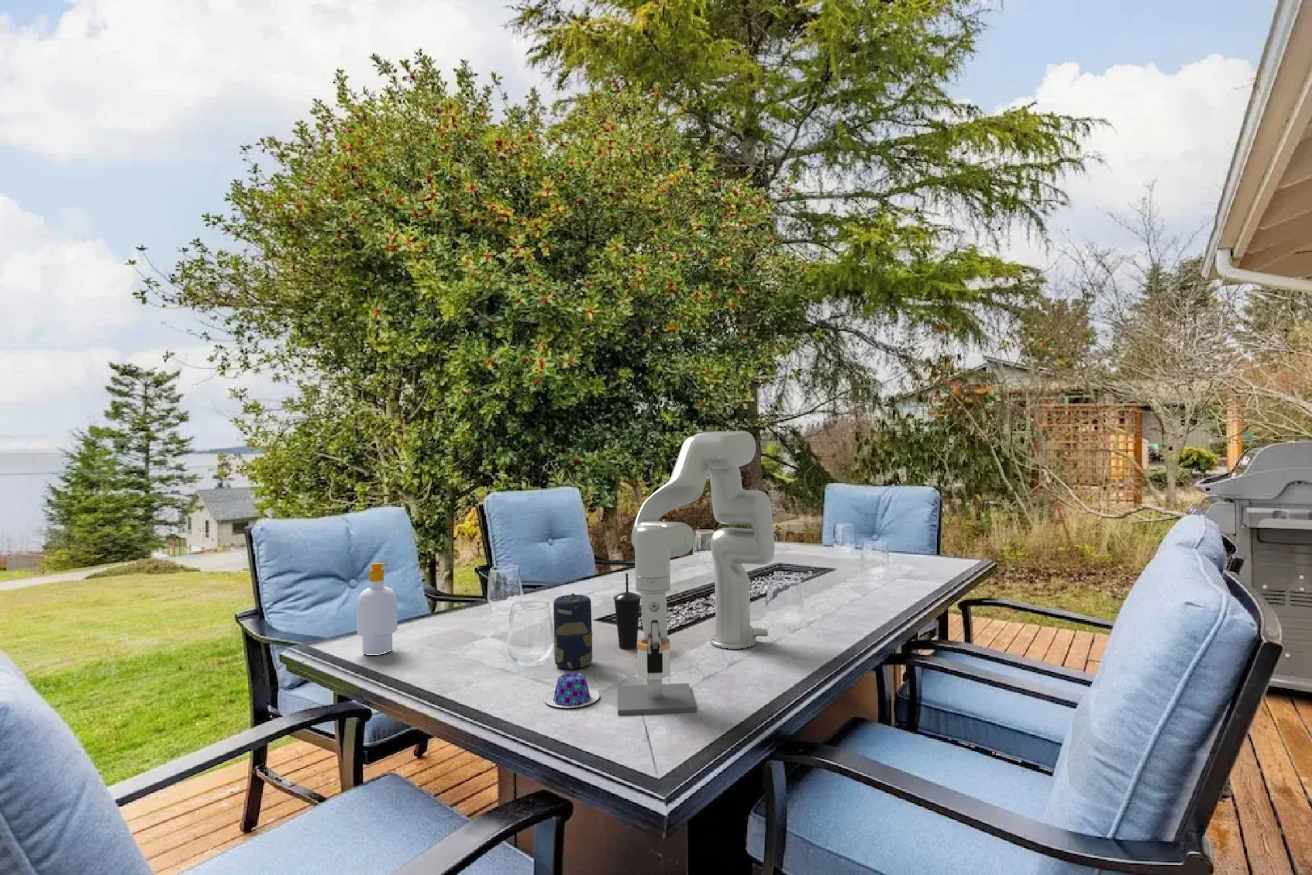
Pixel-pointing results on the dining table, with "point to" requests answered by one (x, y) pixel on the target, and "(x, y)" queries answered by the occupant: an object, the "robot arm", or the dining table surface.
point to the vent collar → (642, 659)
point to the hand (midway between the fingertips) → (653, 666)
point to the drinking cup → (627, 617)
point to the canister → (572, 631)
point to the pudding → (571, 692)
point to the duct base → (655, 698)
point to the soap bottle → (377, 613)
